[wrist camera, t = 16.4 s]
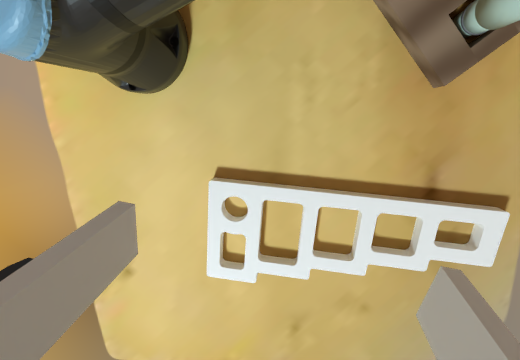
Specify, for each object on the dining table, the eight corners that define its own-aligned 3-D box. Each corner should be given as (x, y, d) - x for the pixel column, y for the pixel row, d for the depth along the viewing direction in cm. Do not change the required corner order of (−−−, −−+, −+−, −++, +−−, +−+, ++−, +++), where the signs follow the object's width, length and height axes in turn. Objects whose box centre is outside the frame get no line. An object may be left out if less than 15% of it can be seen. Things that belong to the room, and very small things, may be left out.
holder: (496, 206, 40) (510, 212, 38) (464, 304, 45) (475, 316, 42) (213, 176, 45) (208, 180, 43) (211, 267, 50) (206, 276, 47)
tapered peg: (439, 23, 35) (509, -21, 23) (470, -2, 34) (561, -61, 22) (456, 50, 35) (534, 20, 24) (488, 26, 34) (586, -17, 23)
